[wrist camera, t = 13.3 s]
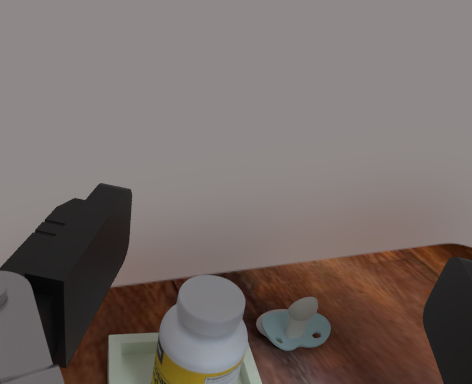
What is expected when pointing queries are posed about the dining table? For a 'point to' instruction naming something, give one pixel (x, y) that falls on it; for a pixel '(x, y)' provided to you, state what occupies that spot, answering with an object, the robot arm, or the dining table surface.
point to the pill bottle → (202, 334)
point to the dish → (143, 356)
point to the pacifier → (295, 325)
